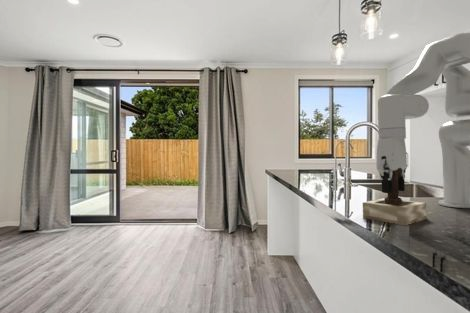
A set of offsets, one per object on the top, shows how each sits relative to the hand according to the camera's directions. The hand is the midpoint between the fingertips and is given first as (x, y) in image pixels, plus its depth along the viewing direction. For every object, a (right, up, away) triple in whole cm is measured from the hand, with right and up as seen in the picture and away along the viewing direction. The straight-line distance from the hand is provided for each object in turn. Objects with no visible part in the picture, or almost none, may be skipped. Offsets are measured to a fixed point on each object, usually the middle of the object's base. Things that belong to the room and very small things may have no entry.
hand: (393, 191), depth 90 cm
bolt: (0, -8, 0) cm, 8 cm away
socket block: (0, -9, 0) cm, 9 cm away
